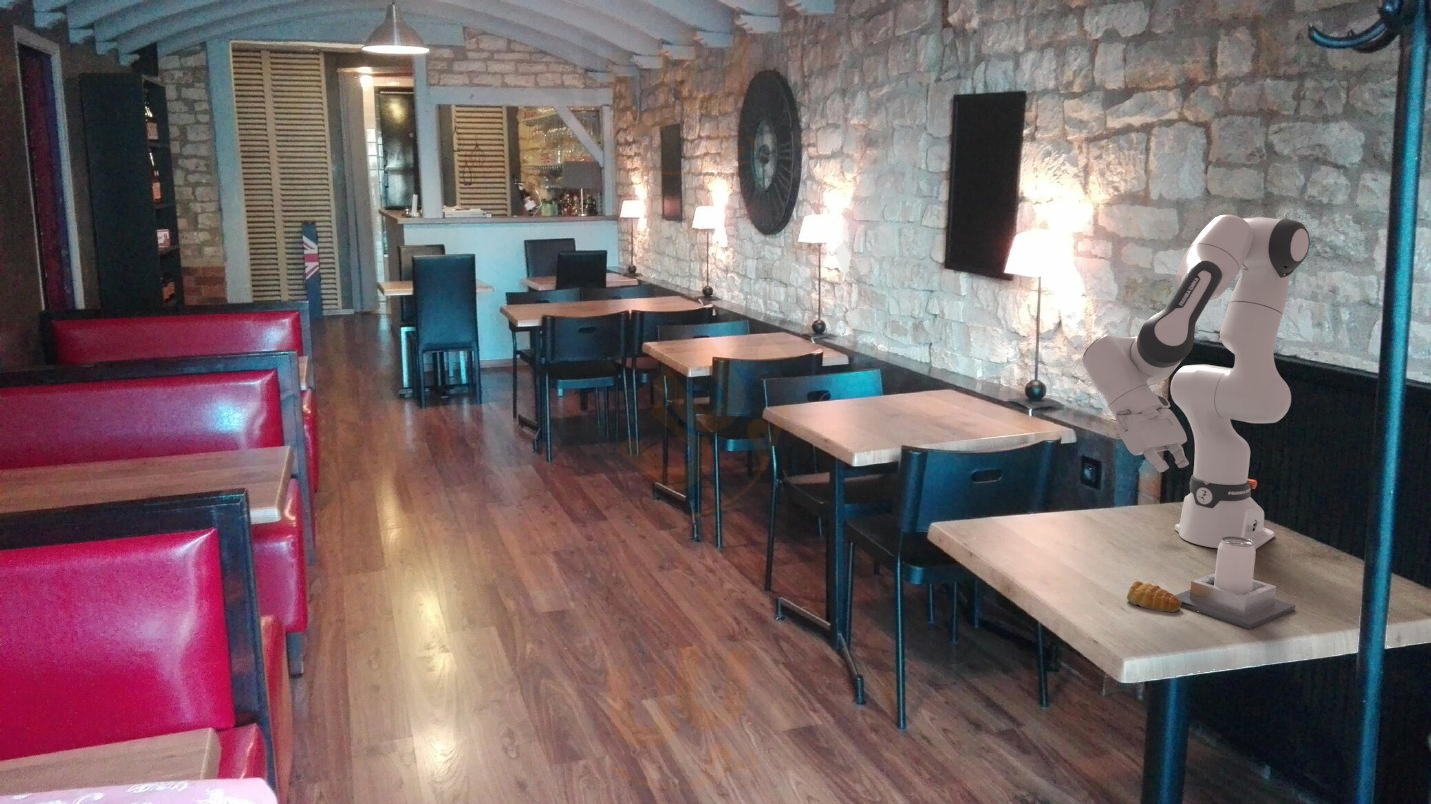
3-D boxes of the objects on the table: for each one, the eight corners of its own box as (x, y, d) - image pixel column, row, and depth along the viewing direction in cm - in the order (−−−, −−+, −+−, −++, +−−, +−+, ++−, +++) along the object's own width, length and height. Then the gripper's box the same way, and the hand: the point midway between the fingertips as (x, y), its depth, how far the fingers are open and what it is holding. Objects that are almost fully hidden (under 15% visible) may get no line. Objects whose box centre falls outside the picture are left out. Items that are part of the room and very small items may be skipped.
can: (1254, 609, 208) (1261, 547, 206) (1217, 606, 210) (1223, 545, 207) (1245, 596, 215) (1251, 536, 212) (1209, 594, 216) (1215, 534, 213)
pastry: (1186, 607, 212) (1188, 588, 211) (1172, 617, 207) (1173, 598, 206) (1137, 594, 218) (1139, 576, 218) (1122, 604, 214) (1124, 585, 213)
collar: (1214, 585, 223) (1217, 563, 222) (1294, 610, 211) (1297, 587, 210) (1168, 602, 214) (1170, 580, 213) (1249, 629, 201) (1252, 606, 200)
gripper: (1125, 402, 215) (1165, 464, 210) (1170, 398, 229) (1208, 456, 224) (1099, 420, 219) (1138, 481, 214) (1145, 414, 233) (1182, 472, 228)
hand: (1174, 468), depth 219 cm, fingers open, 8 cm apart
